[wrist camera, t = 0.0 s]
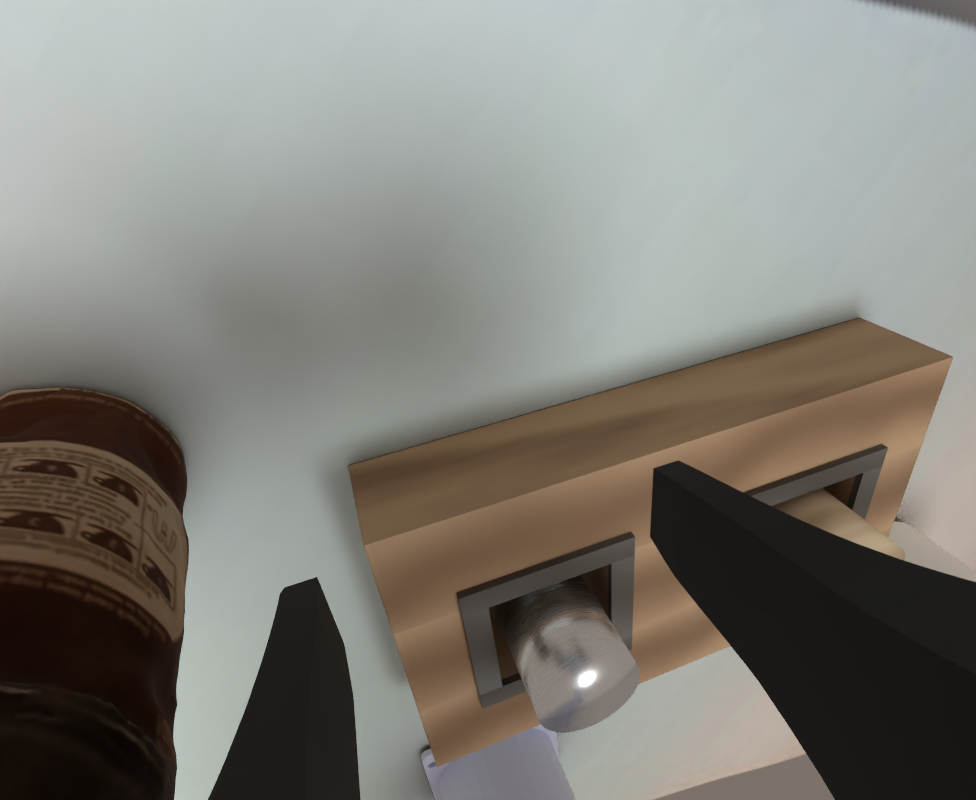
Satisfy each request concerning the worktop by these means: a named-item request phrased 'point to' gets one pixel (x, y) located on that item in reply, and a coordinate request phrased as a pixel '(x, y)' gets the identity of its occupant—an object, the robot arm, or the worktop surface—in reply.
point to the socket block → (621, 505)
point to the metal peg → (568, 655)
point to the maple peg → (838, 521)
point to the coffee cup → (89, 597)
